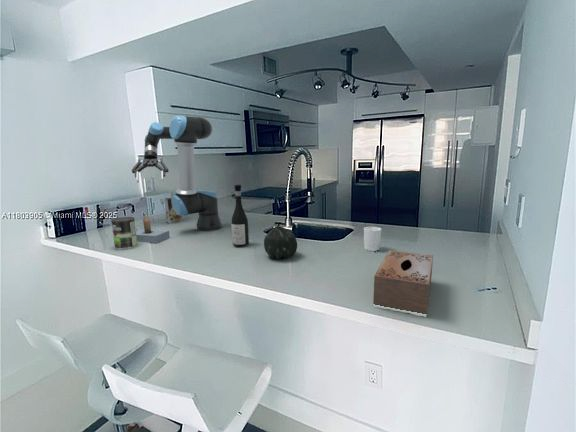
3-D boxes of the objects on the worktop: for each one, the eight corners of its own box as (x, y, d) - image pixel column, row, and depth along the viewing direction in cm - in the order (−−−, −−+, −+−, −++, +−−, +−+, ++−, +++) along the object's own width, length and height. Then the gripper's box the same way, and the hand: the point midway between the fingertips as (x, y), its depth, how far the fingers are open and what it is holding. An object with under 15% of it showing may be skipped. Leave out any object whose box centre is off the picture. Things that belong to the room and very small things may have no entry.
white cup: (365, 246, 148) (366, 225, 146) (382, 248, 144) (383, 227, 142) (360, 250, 142) (361, 229, 140) (378, 253, 138) (379, 231, 136)
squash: (295, 237, 145) (274, 216, 139) (308, 247, 132) (286, 224, 126) (274, 259, 144) (252, 239, 138) (285, 271, 130) (262, 249, 124)
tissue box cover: (426, 318, 85) (429, 284, 83) (373, 307, 91) (374, 275, 89) (430, 282, 107) (433, 255, 105) (387, 276, 113) (389, 250, 111)
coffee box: (169, 223, 203) (167, 199, 200) (166, 221, 208) (164, 198, 205) (183, 221, 209) (181, 197, 206) (180, 219, 214) (177, 196, 211)
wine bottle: (244, 248, 148) (241, 186, 142) (229, 246, 151) (226, 185, 145) (251, 243, 156) (249, 184, 150) (237, 242, 158) (234, 183, 152)
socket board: (169, 237, 169) (169, 230, 168) (156, 243, 159) (156, 236, 158) (141, 236, 173) (140, 229, 172) (127, 241, 163) (126, 234, 162)
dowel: (153, 239, 167) (150, 217, 165) (149, 240, 164) (146, 218, 162) (148, 238, 168) (145, 217, 165) (144, 240, 165) (141, 218, 162)
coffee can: (123, 250, 148) (119, 222, 145) (110, 248, 152) (106, 220, 150) (142, 244, 157) (139, 217, 154) (129, 242, 161) (125, 216, 158)
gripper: (172, 158, 199) (173, 183, 188) (130, 159, 192) (128, 185, 181) (171, 149, 193) (171, 175, 182) (127, 150, 186) (125, 177, 175)
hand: (150, 180), depth 181 cm, fingers open, 13 cm apart
